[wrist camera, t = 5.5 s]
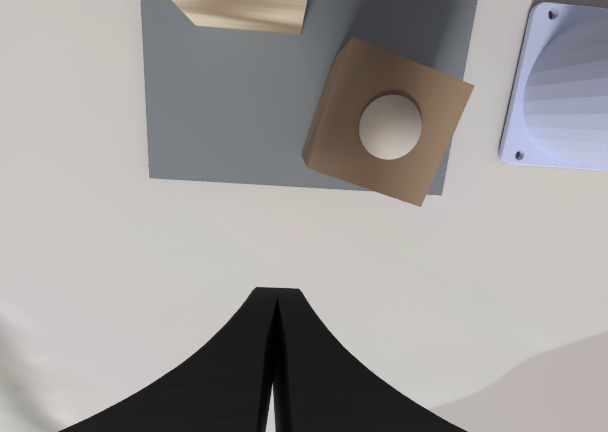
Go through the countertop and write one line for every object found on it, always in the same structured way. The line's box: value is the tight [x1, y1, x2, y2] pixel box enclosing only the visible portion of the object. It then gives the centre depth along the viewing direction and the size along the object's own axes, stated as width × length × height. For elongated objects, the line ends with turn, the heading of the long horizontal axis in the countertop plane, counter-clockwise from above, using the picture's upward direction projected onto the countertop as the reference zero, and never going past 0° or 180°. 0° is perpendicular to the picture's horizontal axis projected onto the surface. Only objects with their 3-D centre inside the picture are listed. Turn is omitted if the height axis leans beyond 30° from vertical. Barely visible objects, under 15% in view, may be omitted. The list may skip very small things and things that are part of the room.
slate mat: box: [141, 0, 477, 195], centre depth 17 cm, size 16×17×1 cm
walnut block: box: [301, 37, 474, 207], centre depth 16 cm, size 5×5×5 cm
